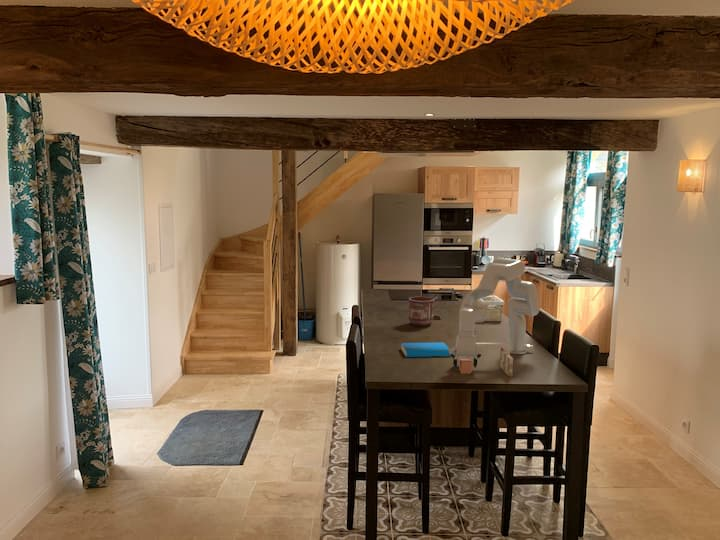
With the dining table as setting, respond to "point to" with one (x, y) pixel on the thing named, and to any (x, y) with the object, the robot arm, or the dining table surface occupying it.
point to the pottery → (421, 311)
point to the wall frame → (488, 345)
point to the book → (425, 349)
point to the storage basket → (492, 307)
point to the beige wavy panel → (506, 362)
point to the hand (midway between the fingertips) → (465, 366)
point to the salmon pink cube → (465, 366)
